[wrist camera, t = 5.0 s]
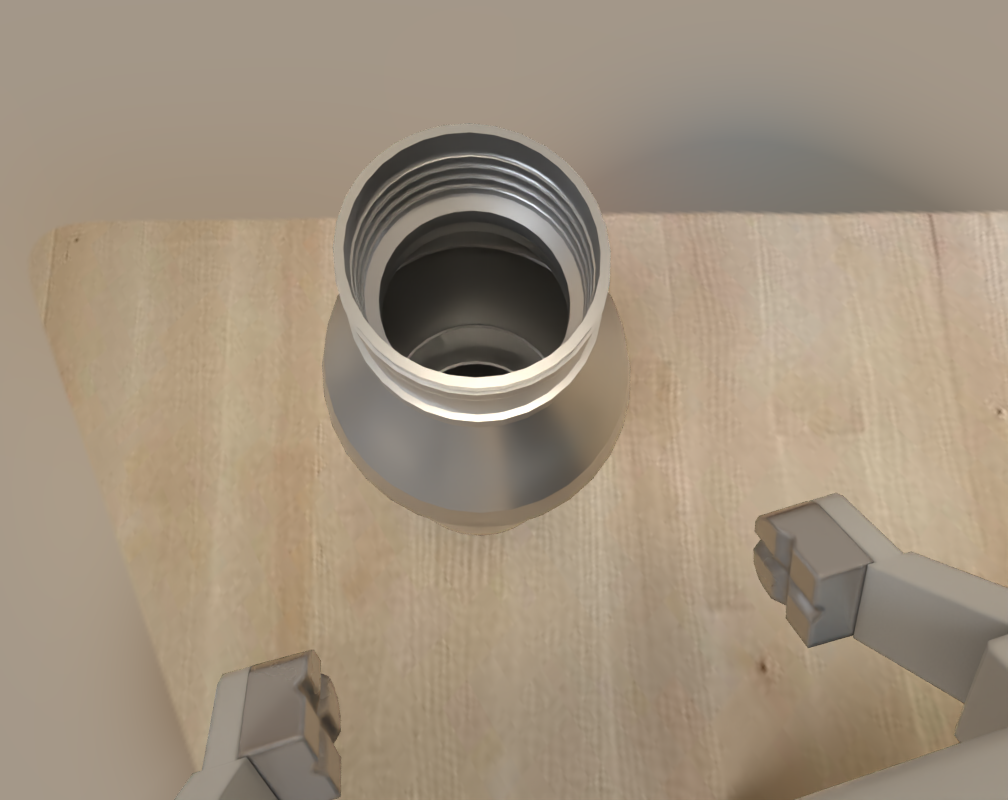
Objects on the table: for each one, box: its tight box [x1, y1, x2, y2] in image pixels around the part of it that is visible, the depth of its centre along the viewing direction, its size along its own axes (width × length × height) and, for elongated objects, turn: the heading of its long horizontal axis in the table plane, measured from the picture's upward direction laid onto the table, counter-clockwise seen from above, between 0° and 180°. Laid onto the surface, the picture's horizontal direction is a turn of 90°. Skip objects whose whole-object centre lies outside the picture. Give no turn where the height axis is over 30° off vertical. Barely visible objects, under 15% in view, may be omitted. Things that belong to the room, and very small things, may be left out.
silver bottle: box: [322, 123, 630, 536], centre depth 18 cm, size 6×7×20 cm
